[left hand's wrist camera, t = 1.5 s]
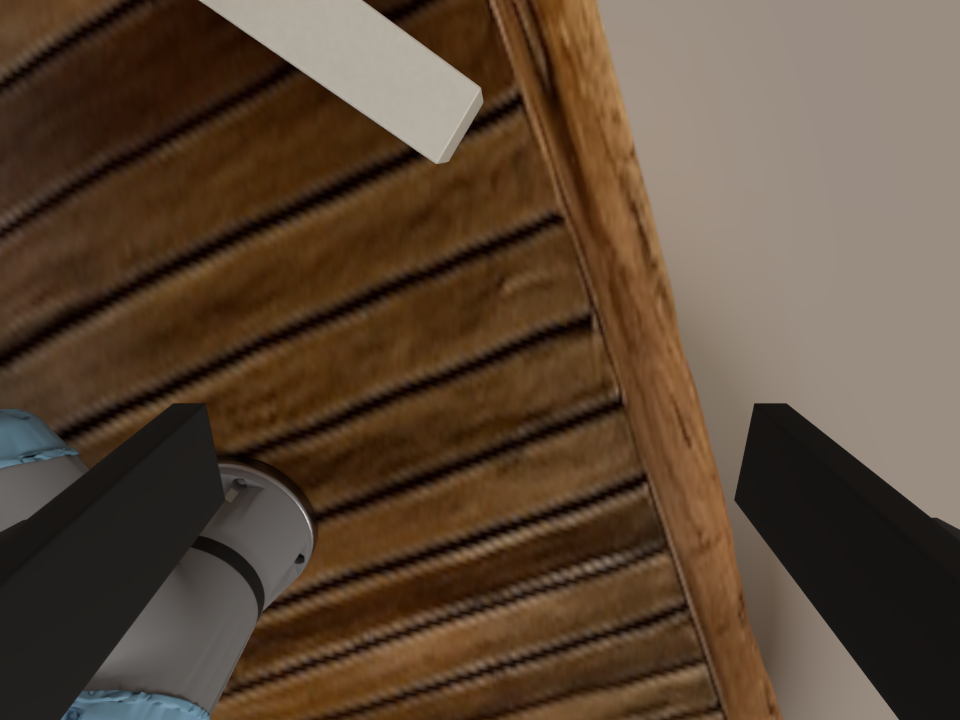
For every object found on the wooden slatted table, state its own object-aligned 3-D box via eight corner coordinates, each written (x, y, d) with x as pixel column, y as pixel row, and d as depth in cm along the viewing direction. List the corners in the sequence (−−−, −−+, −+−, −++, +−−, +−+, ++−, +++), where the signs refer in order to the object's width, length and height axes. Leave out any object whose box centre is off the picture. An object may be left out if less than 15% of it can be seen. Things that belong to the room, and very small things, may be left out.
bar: (483, 101, 38) (481, 88, 30) (447, 162, 39) (436, 164, 31) (160, -135, 33) (55, -227, 25) (134, -56, 35) (27, -119, 27)
